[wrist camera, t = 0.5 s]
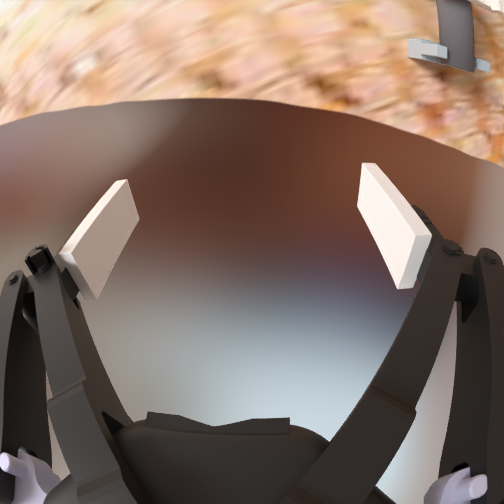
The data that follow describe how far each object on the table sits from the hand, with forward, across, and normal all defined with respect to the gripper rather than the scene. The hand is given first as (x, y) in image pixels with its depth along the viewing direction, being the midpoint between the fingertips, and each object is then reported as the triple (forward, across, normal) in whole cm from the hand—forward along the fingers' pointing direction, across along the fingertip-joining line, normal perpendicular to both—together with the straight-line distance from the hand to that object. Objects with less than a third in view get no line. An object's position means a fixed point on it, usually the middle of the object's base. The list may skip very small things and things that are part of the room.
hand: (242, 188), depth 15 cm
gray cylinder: (+22, +27, +17) cm, 39 cm away
